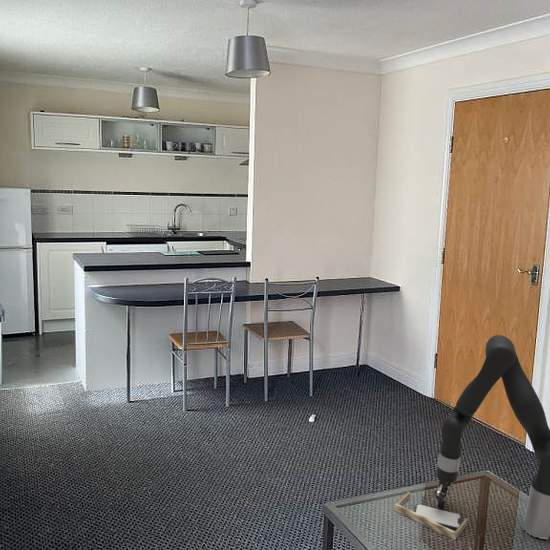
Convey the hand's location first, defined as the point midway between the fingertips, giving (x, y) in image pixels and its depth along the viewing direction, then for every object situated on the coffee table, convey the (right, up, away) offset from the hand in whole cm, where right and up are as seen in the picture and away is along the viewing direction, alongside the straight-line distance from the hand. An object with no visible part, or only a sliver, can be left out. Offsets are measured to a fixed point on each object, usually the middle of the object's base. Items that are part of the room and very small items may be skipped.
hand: (440, 507), depth 220 cm
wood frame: (-5, -2, -6) cm, 8 cm away
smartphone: (-3, -2, -5) cm, 6 cm away
